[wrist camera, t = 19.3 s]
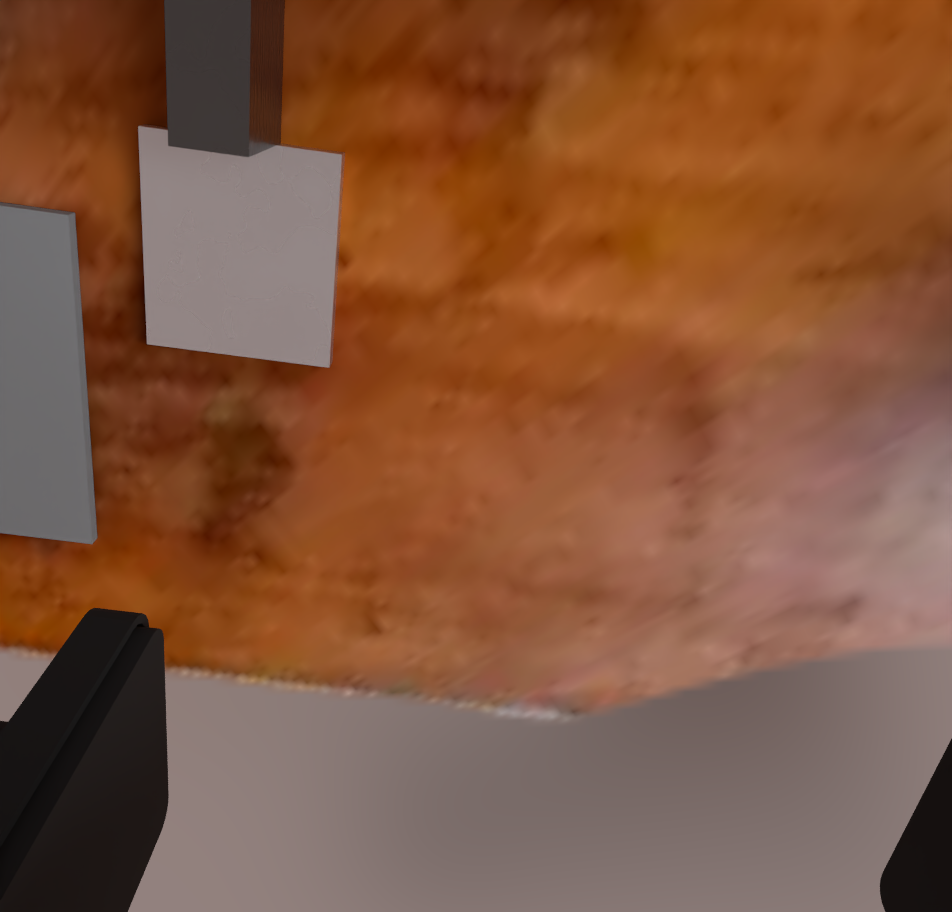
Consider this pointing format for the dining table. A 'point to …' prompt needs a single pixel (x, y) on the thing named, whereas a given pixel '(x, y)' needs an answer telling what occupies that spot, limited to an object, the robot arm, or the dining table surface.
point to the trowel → (236, 196)
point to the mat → (43, 380)
